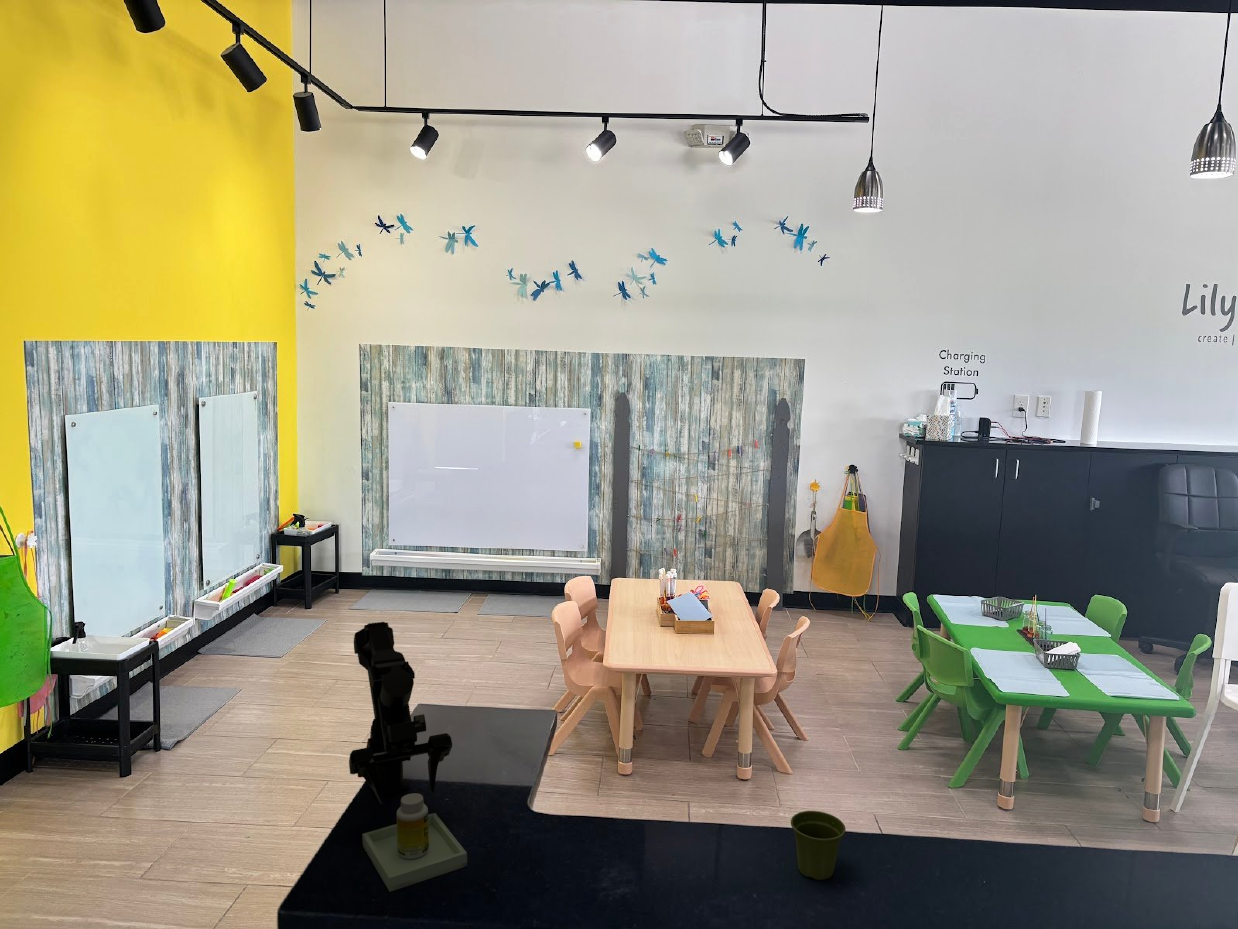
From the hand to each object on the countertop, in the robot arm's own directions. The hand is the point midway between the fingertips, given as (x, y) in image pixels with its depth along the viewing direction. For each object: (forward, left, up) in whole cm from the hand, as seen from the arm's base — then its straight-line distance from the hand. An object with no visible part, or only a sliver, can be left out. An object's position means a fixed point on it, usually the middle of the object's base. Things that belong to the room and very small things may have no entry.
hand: (407, 798), depth 159 cm
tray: (+5, -1, -9) cm, 10 cm away
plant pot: (+47, +58, -9) cm, 75 cm away
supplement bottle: (+4, -1, -8) cm, 9 cm away
